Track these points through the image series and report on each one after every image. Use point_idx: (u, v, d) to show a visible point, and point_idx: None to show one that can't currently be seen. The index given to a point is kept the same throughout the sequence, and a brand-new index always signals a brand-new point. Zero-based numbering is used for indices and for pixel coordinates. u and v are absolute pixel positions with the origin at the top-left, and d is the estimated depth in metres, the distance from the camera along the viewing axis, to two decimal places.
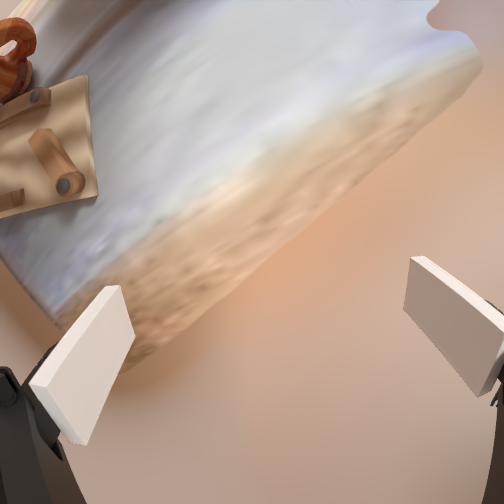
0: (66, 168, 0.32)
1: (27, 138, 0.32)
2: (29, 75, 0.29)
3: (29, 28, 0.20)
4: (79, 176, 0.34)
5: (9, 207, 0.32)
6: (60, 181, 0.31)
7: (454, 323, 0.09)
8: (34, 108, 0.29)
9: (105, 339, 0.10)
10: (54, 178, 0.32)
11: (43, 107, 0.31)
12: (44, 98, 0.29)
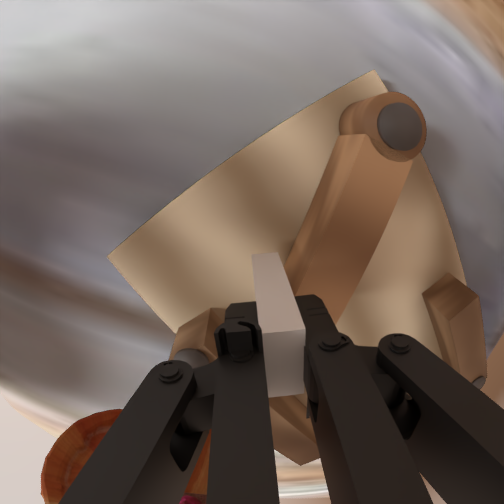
0: (351, 149, 0.11)
1: None
2: None
3: (54, 444, 0.11)
4: (349, 113, 0.12)
5: (477, 307, 0.14)
6: (395, 139, 0.10)
7: None
8: None
9: None
10: (395, 172, 0.11)
11: None
12: (194, 333, 0.15)
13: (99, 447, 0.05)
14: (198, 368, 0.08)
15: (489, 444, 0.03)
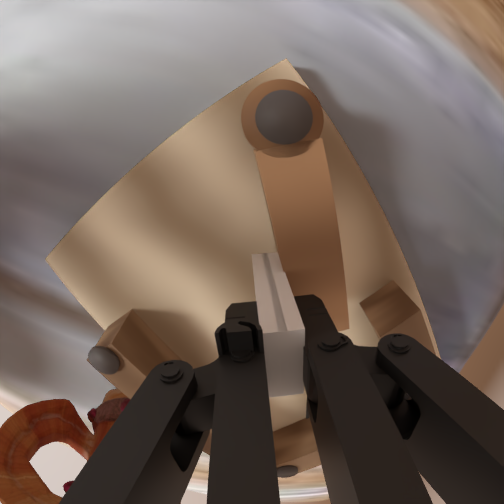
0: (259, 168, 0.11)
1: None
2: (121, 392, 0.19)
3: (3, 424, 0.11)
4: None
5: (420, 323, 0.13)
6: (285, 135, 0.10)
7: None
8: (146, 350, 0.15)
9: None
10: (311, 162, 0.10)
11: (143, 327, 0.16)
12: (112, 332, 0.15)
13: (99, 446, 0.05)
14: (199, 368, 0.08)
15: (489, 444, 0.03)
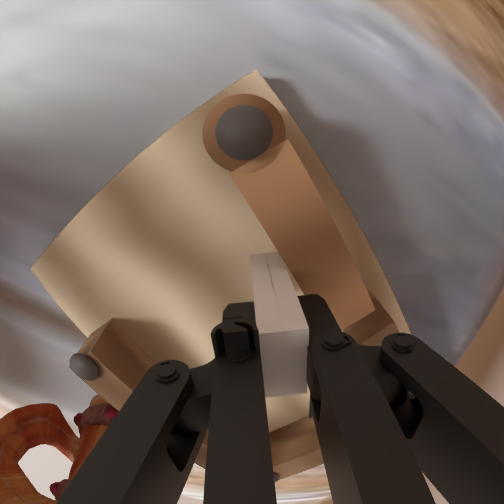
0: None
1: (211, 351, 0.18)
2: None
3: None
4: None
5: None
6: (251, 150, 0.10)
7: None
8: (124, 358, 0.15)
9: None
10: (285, 165, 0.11)
11: (122, 336, 0.16)
12: (92, 340, 0.15)
13: (96, 446, 0.04)
14: (195, 368, 0.08)
15: (491, 443, 0.03)
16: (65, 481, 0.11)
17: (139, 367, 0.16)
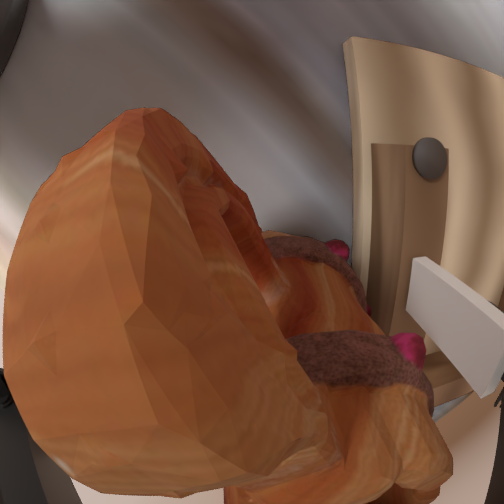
0: None
1: (453, 234, 0.16)
2: None
3: None
4: None
5: None
6: None
7: (457, 324, 0.09)
8: None
9: None
10: None
11: None
12: None
13: None
14: None
15: None
16: (329, 333, 0.07)
17: None
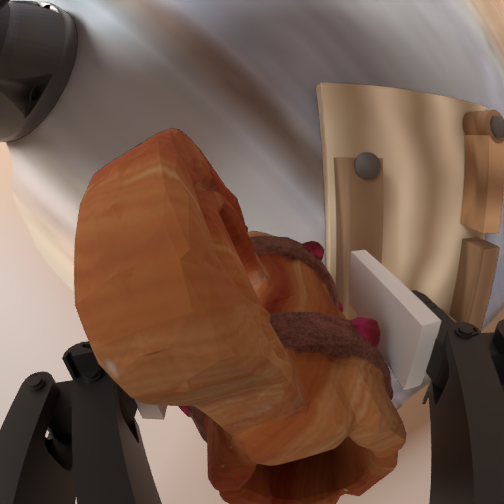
0: (482, 143, 0.18)
1: (403, 220, 0.23)
2: None
3: None
4: (470, 123, 0.19)
5: (496, 256, 0.20)
6: (499, 134, 0.17)
7: (383, 314, 0.10)
8: None
9: None
10: (501, 148, 0.17)
11: None
12: None
13: None
14: (67, 382, 0.07)
15: None
16: (299, 312, 0.09)
17: None
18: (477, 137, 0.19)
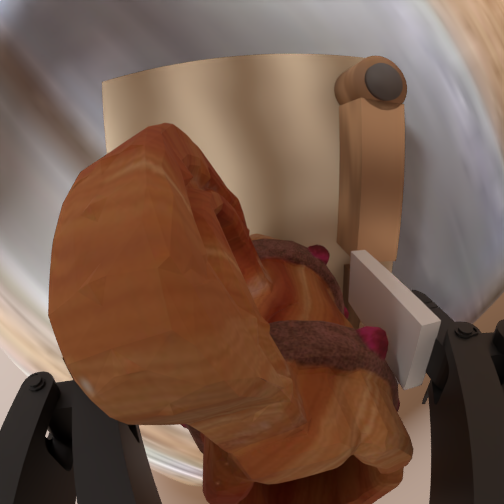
0: (355, 113, 0.13)
1: None
2: None
3: None
4: (340, 85, 0.14)
5: None
6: (384, 93, 0.12)
7: (383, 314, 0.10)
8: None
9: None
10: (394, 117, 0.12)
11: None
12: None
13: None
14: (67, 382, 0.07)
15: None
16: (302, 321, 0.08)
17: None
18: (349, 105, 0.14)
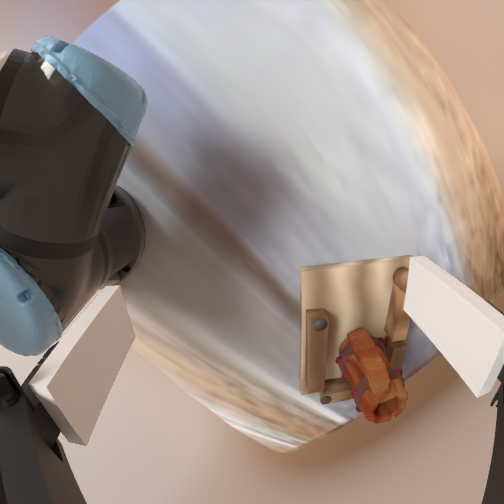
0: (400, 294, 0.39)
1: (344, 333, 0.43)
2: None
3: (366, 335, 0.33)
4: (396, 279, 0.39)
5: (404, 350, 0.41)
6: None
7: (454, 323, 0.09)
8: None
9: (105, 339, 0.10)
10: None
11: None
12: (319, 314, 0.40)
13: None
14: None
15: None
16: None
17: None
18: (398, 289, 0.39)
